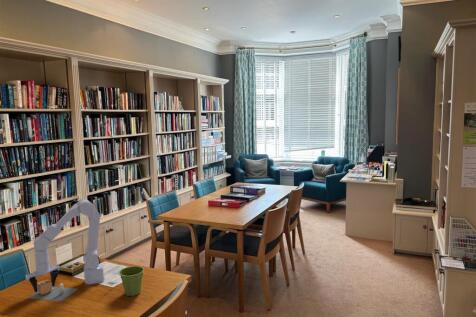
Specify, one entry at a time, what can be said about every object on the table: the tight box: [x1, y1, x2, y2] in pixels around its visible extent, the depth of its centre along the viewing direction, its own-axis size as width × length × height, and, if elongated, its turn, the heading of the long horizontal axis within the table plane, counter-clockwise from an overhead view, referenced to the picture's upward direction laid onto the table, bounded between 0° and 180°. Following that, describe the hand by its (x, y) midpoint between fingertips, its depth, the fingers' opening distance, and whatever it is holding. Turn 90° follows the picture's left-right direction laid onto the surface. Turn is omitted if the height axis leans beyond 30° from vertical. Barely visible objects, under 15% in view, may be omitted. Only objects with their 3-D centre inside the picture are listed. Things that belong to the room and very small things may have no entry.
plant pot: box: [118, 265, 145, 297], centre depth 168 cm, size 12×12×11 cm
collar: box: [37, 279, 53, 294], centre depth 167 cm, size 5×5×4 cm
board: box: [27, 281, 78, 302], centre depth 166 cm, size 18×12×6 cm, turn 78°
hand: (44, 288), depth 167 cm, fingers open, 7 cm apart
